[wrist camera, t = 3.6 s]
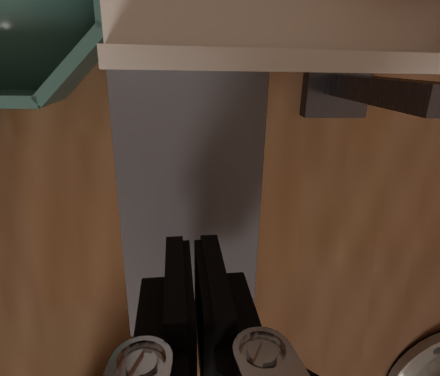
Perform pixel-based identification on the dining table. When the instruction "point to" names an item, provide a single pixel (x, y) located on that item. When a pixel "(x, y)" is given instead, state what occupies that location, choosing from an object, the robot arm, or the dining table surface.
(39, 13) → the green octagonal bowl
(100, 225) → the dining table surface
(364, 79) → the stand
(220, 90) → the tipping tray
